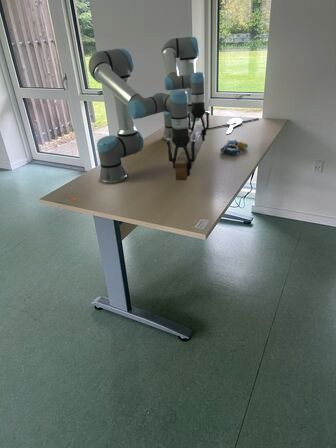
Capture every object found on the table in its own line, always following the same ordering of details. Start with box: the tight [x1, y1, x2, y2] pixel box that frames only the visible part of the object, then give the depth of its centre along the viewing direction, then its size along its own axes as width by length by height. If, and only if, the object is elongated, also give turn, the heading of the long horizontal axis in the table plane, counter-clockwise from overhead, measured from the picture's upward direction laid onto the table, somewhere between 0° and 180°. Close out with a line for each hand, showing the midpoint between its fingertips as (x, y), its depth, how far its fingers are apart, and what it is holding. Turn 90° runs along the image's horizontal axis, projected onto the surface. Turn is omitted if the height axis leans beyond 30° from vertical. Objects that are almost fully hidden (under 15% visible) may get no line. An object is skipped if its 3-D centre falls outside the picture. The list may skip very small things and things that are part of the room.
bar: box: [174, 124, 204, 182], centre depth 183 cm, size 64×5×9 cm, turn 167°
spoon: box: [226, 117, 243, 135], centre depth 260 cm, size 35×11×2 cm, turn 159°
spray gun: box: [220, 139, 249, 156], centre depth 214 cm, size 21×4×15 cm
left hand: (182, 174), depth 163 cm, fingers closed on bar, 5 cm apart
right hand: (199, 140), depth 207 cm, fingers closed on bar, 5 cm apart
